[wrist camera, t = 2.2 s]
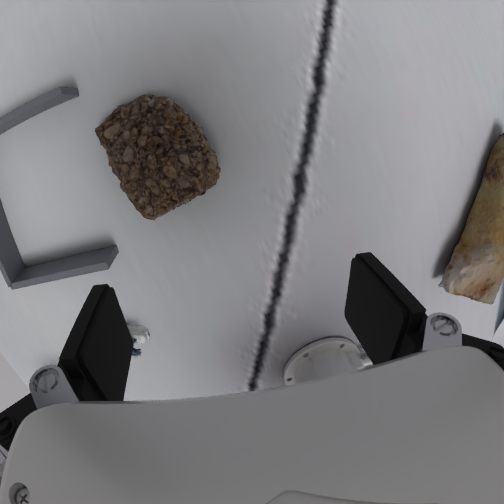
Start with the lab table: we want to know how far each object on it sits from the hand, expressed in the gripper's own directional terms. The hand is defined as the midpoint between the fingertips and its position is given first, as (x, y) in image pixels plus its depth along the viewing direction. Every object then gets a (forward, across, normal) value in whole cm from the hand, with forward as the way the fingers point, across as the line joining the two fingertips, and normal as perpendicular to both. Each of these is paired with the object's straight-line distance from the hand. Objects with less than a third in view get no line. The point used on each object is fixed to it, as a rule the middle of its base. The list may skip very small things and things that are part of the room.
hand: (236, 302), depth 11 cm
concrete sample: (+21, +5, -4) cm, 22 cm away
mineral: (+20, -39, +5) cm, 44 cm away
